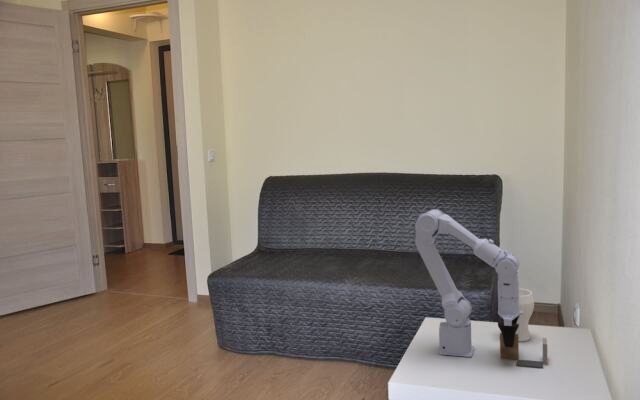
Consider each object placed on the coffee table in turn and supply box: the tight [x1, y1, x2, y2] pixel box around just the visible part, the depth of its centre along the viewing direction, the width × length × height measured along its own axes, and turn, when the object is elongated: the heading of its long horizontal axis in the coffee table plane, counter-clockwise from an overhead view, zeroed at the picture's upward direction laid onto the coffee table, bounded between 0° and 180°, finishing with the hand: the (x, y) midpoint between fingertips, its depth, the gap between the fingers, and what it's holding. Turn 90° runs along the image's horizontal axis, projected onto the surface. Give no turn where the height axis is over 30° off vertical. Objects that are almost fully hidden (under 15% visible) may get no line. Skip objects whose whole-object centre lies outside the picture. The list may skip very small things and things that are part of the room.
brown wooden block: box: [499, 332, 520, 361], centre depth 159 cm, size 5×2×7 cm, turn 69°
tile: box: [541, 337, 549, 366], centre depth 156 cm, size 1×5×6 cm, turn 159°
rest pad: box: [515, 359, 544, 369], centre depth 154 cm, size 7×4×1 cm, turn 69°
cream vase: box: [515, 287, 535, 342], centre depth 174 cm, size 11×11×15 cm
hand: (509, 341), depth 159 cm, fingers open, 7 cm apart
